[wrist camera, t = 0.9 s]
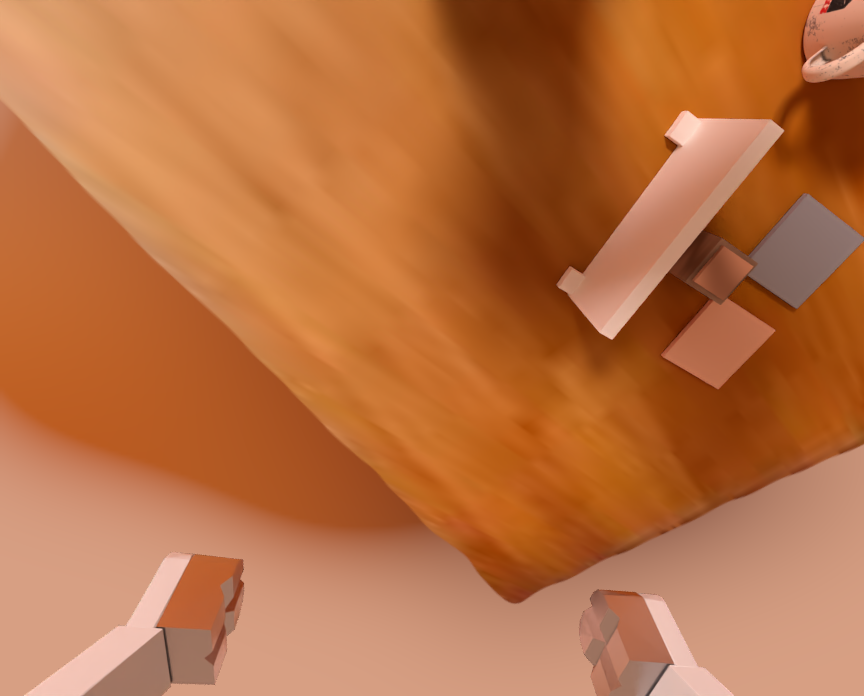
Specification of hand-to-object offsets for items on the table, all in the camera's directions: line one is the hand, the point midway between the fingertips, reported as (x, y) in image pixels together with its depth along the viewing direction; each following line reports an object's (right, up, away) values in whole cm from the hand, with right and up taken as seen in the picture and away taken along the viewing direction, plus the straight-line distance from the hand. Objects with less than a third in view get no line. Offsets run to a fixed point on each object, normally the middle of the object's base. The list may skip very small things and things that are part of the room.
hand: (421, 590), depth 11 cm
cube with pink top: (+29, +15, +39) cm, 51 cm away
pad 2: (+39, +16, +39) cm, 58 cm away
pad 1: (+33, +6, +43) cm, 55 cm away
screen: (+21, +19, +37) cm, 46 cm away
